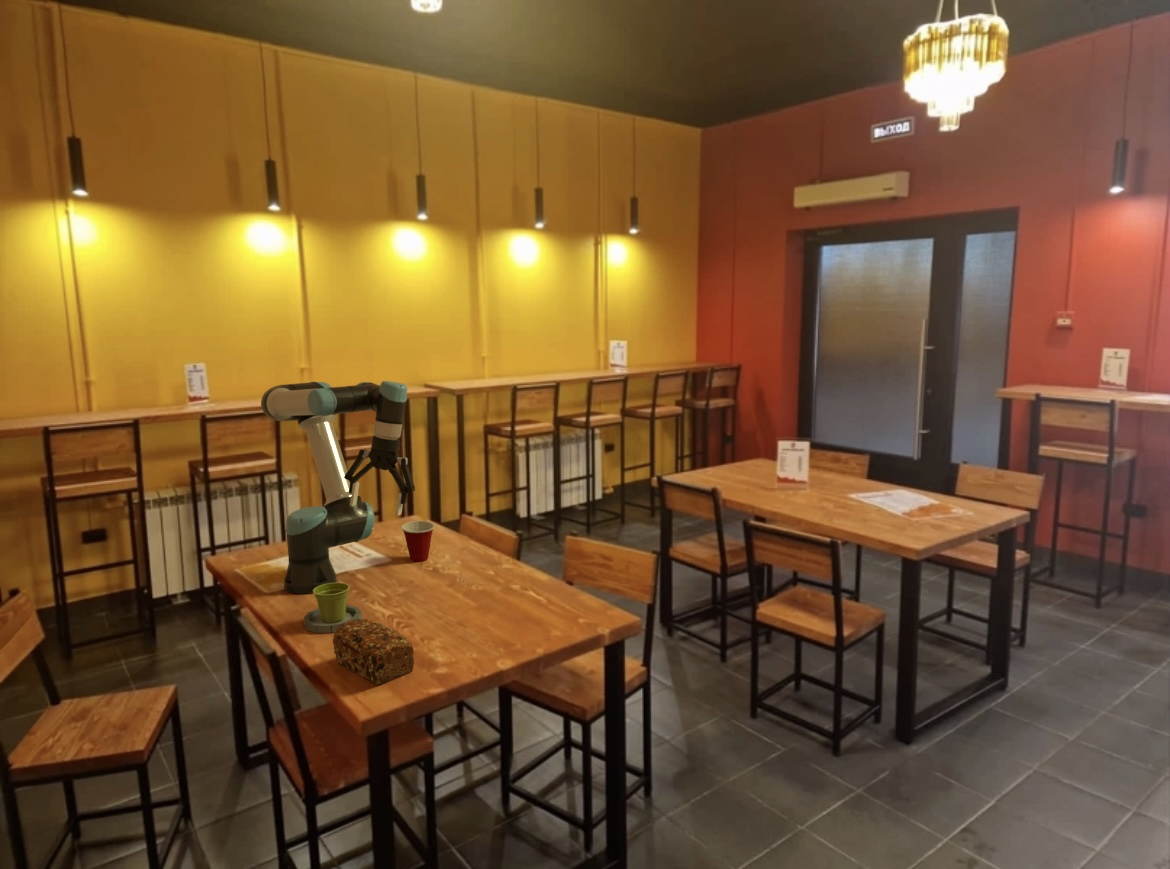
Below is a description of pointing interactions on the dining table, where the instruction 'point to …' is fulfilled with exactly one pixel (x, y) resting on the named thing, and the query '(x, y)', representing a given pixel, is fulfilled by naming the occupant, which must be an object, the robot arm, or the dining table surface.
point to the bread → (373, 650)
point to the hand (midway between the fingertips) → (375, 510)
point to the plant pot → (332, 601)
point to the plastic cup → (418, 539)
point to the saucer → (318, 626)
